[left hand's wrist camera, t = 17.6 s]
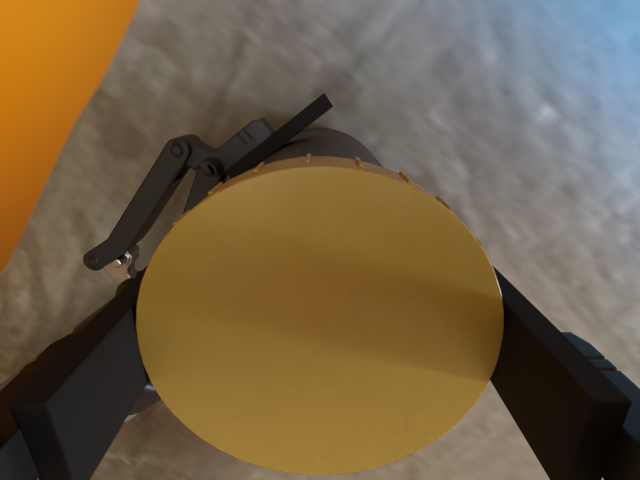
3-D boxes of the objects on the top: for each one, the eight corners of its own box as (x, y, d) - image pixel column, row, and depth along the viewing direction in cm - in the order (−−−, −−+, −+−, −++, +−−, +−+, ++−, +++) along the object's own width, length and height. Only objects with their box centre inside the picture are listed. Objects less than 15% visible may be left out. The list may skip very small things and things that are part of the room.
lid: (435, 91, 10) (457, 90, 8) (510, 388, 13) (536, 426, 12) (92, 230, 11) (54, 251, 10) (244, 463, 15) (235, 507, 13)
